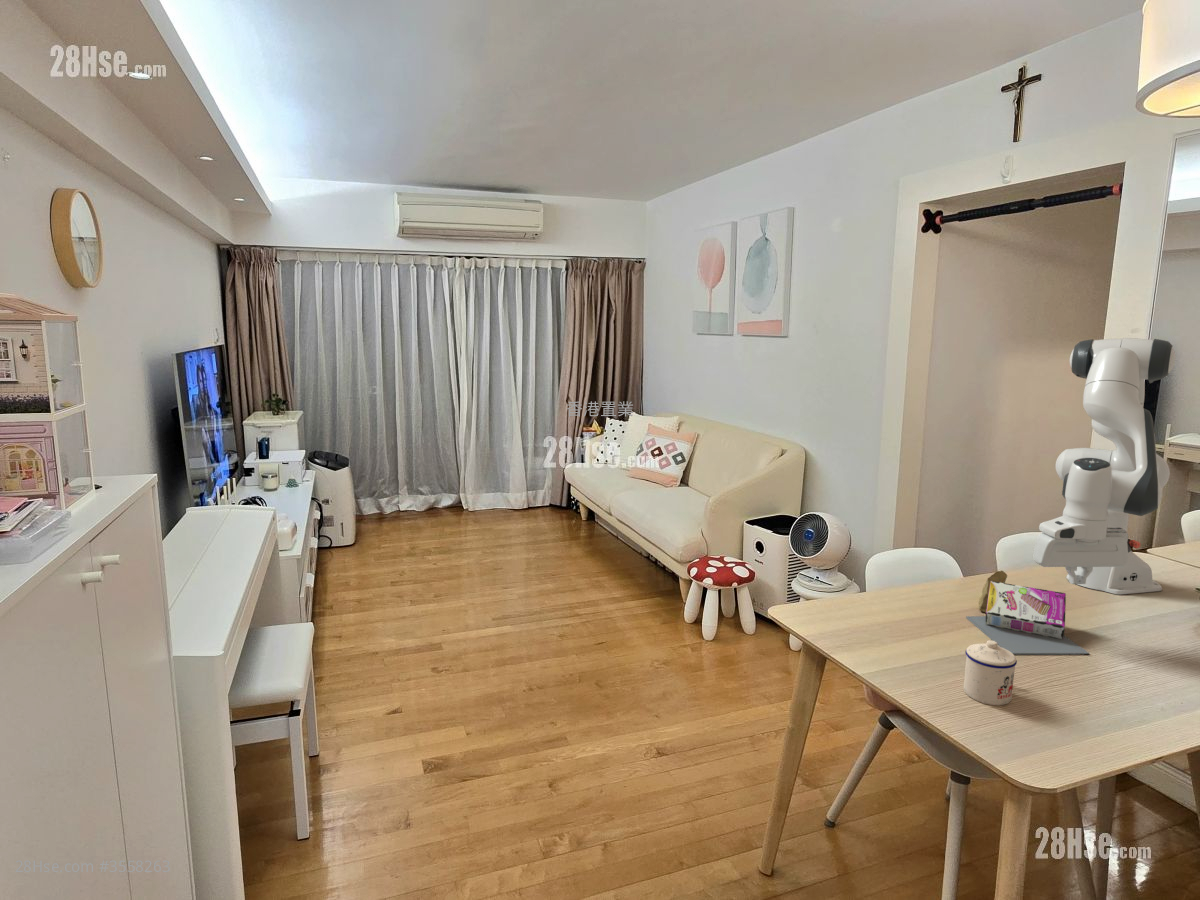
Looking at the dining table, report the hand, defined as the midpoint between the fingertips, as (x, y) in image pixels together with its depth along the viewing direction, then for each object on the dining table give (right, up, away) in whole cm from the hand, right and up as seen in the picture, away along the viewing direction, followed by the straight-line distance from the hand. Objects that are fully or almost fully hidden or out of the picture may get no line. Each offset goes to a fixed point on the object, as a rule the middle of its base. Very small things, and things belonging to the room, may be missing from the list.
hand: (1076, 583), depth 165 cm
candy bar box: (-2, -8, +2) cm, 8 cm away
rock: (-11, -10, +20) cm, 25 cm away
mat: (-11, -13, +3) cm, 17 cm away
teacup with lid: (-34, -18, -22) cm, 44 cm away
